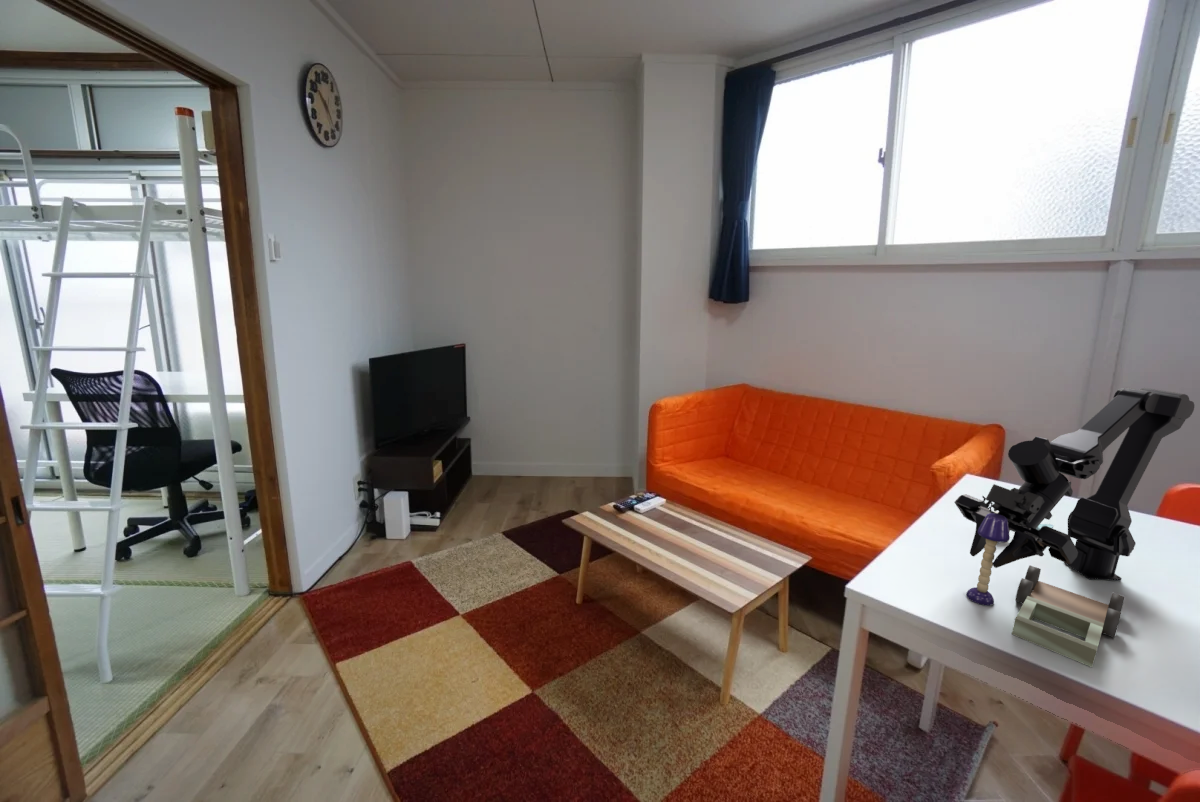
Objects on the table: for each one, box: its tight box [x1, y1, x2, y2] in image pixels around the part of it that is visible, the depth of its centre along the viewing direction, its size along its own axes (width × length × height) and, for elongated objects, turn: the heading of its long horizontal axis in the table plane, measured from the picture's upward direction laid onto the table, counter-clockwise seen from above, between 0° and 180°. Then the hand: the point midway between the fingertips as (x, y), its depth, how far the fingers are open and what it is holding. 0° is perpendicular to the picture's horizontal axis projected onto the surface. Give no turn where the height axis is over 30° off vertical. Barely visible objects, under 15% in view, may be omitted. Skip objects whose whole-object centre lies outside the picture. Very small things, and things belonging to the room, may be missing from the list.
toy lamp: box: [965, 513, 1011, 607], centre depth 95 cm, size 5×5×17 cm
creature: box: [981, 494, 998, 512], centre depth 134 cm, size 8×5×8 cm
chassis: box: [1011, 565, 1125, 668], centre depth 90 cm, size 22×13×4 cm, turn 132°
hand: (982, 560), depth 94 cm, fingers closed on toy lamp, 4 cm apart
